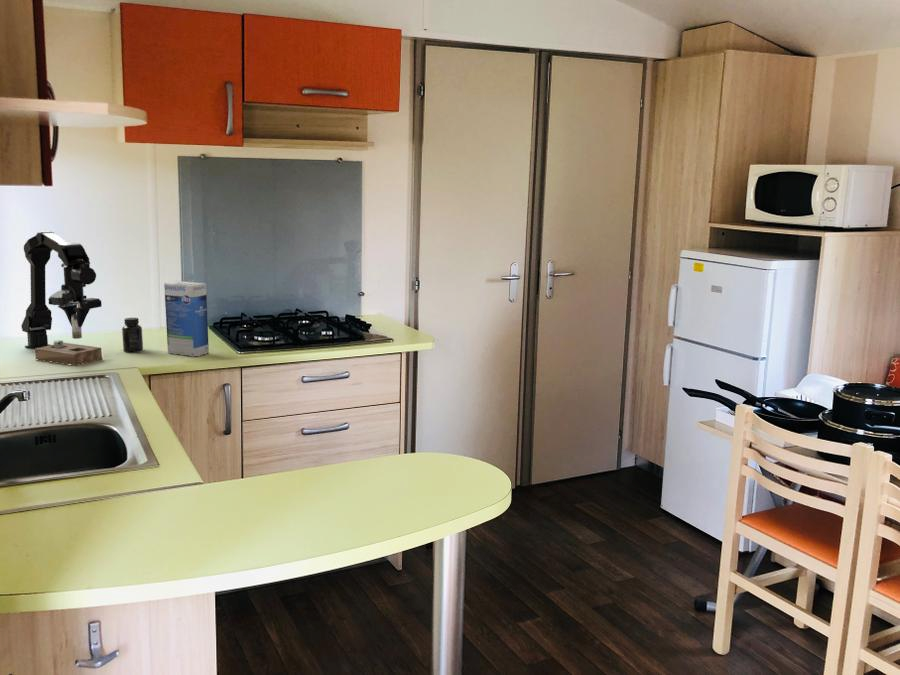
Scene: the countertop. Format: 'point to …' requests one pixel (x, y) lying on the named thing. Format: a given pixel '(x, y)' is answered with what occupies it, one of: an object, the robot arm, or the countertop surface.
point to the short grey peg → (58, 344)
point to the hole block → (69, 353)
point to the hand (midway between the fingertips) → (76, 326)
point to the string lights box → (186, 318)
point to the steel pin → (75, 327)
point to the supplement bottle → (132, 335)
